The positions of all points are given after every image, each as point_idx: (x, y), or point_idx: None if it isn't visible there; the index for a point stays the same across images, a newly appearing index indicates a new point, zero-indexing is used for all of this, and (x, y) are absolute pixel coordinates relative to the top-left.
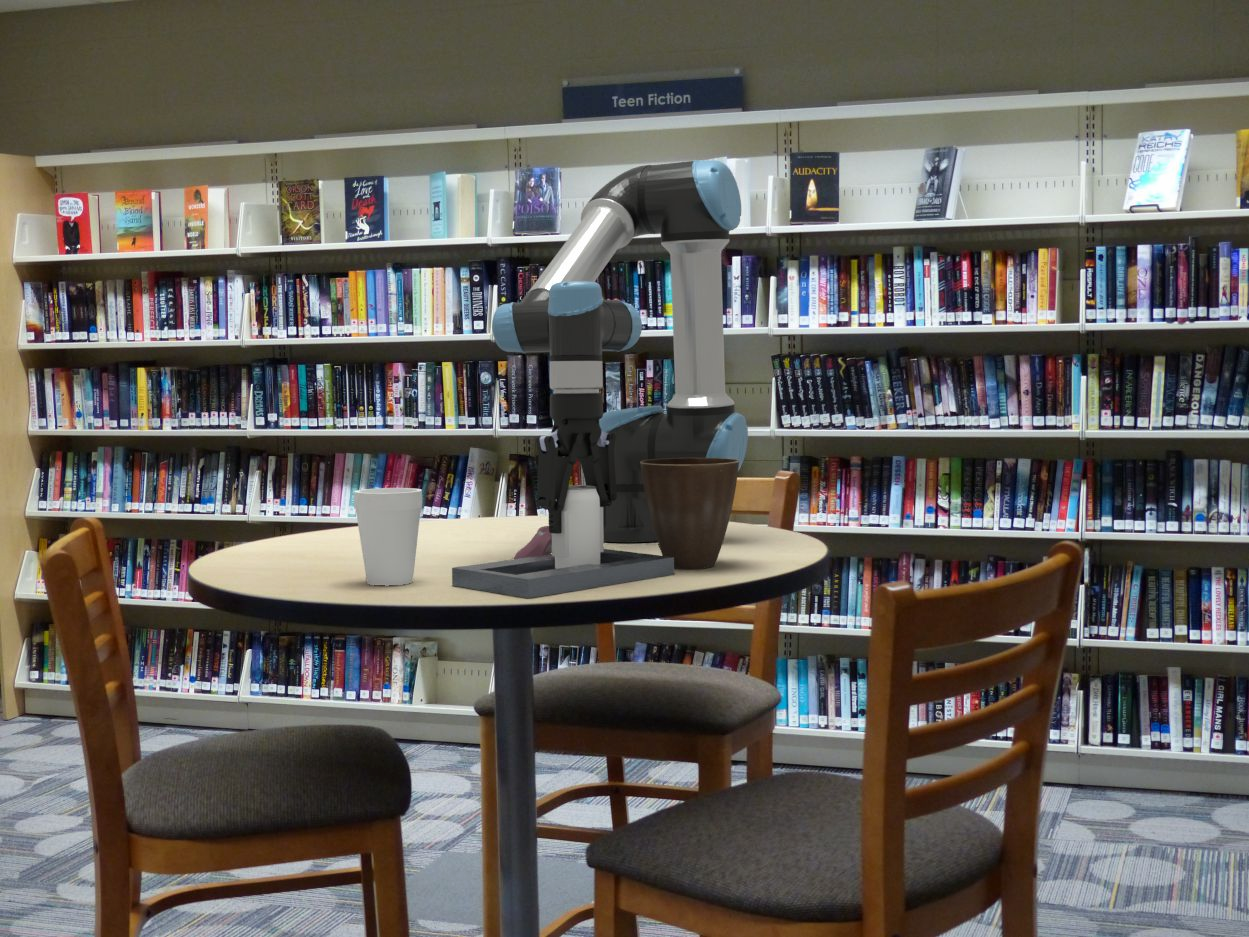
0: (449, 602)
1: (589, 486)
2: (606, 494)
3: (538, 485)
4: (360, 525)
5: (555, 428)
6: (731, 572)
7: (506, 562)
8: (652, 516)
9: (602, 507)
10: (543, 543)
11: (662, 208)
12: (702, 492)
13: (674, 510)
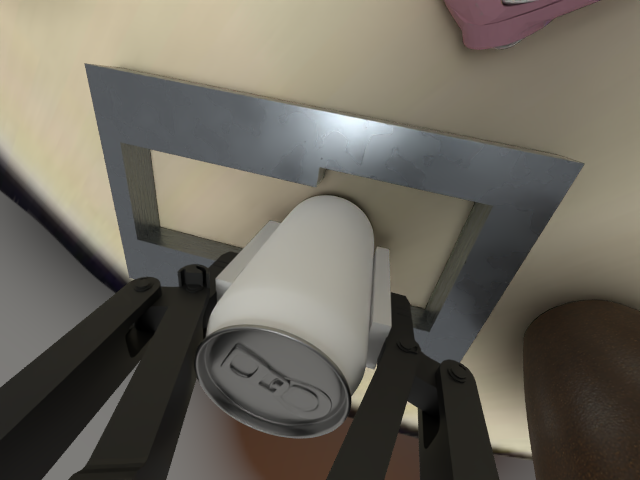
0: (55, 186)
1: (344, 406)
2: (420, 404)
3: (79, 330)
4: None
5: None
6: (506, 402)
7: (216, 121)
8: (590, 391)
9: (371, 367)
10: (470, 36)
11: None
12: None
13: (536, 466)
